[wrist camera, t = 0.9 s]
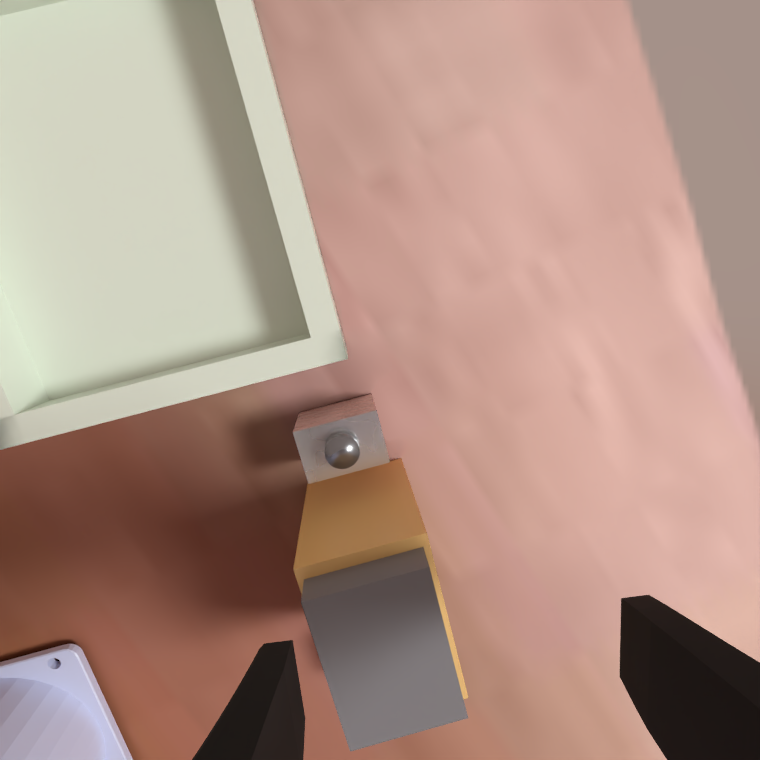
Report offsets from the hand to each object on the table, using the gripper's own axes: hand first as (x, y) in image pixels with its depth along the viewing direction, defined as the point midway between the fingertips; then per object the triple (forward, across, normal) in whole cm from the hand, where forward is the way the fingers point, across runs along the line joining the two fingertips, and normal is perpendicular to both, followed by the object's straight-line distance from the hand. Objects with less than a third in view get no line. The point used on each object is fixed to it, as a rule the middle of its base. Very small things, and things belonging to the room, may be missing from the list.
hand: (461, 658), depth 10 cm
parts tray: (+10, +9, -12) cm, 17 cm away
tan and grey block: (+10, +2, +3) cm, 10 cm away
